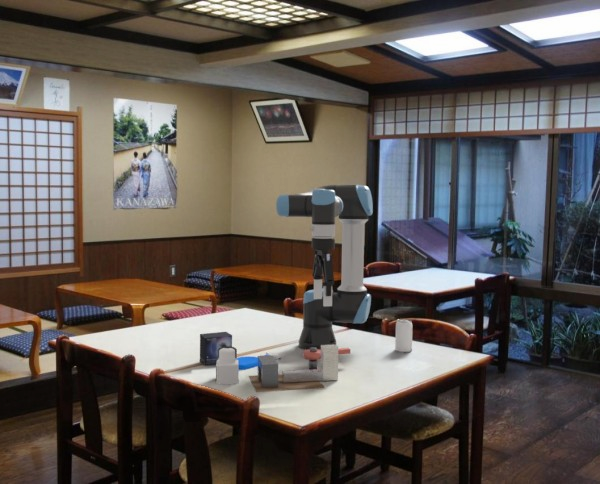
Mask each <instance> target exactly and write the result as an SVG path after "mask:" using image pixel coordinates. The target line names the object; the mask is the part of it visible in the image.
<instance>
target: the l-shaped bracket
mask: <svg viewBox="0 0 600 484" xmlns="http://www.w3.org/2000/svg"><path fill="white" fill-rule="evenodd" d="M338 349H339V346H338V345H337V343H336V344H335V345H321V359H320V368H317V369H313V370H309V369H298V370H297V369H296V370H281V374H282V381H283V382H284V383H286V382H305V381H320V382H326V381H338V380H339V355H338Z"/></svg>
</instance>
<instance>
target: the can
mask: <svg viewBox="0 0 600 484" xmlns="http://www.w3.org/2000/svg"><path fill="white" fill-rule="evenodd" d="M394 341H395V346H394V347H395V351H396V352H398V351H399V353H411V351H413V350H412V349H413V323H412V320H411V319H407V318H406V319H405V318H400V319H399V318H398V319H396V322H395V340H394Z"/></svg>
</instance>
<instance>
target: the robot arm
mask: <svg viewBox="0 0 600 484" xmlns="http://www.w3.org/2000/svg"><path fill="white" fill-rule="evenodd" d="M373 204H374V203H373V196H372V192H371V190H370V188H369V186H367V185H363V184H362V185H361V184H328V185H324V186H319V187H314V188H311V189H309V190H308V191H307V192H302V193H297V194H296V193H295V194H280V195H278V197H277V199H276V203H275V207H276V213H277V215H278V216H280V217H286V218H289V217H291V218H311V227H309V228H310V231H311V236H312V237H311V249H312V250H314V258H313V266H312V273H311V275H312V277H313V289H309V290H307V291H305V292H304V294H303V302H302V307H303V308H302V310H303V314H302V315H303V317H302V322H303V323H302V324H303V325H302V330H301V332H300V336H299V339H298V347H299V349H301V350H307V349H310V348H311V347H316V348H317V349H319V350H321V345H335V344H336V345H337V339H336V335H335V333H334V332H335V331H334V330H333V329H334V328H333V323H334V322H335V323H349V324H350V323H351V324H364V323H365V322H367V319H368V317H369V314H370V311H371V310H370V309H371V305H372V303H371V302H372V295H371V294H370V293H368V289H367V287H365V285H364V265H365V263H364V261H365V260H364V255H365V224H366V223H367V222H368V221H369V216H372V215H373V212H374V209H373V207H374V206H373ZM336 217H338V220H339V222H340V223H342V224H341V226H342V227H341V230H342V231H341V283H340V285H339V286H338V287H337V288H336V289H337V292H334V290H333V285H335V284H336V283H335V278H334V267H333V255H332V253H330V252H329V251H334V250H335V247H336V246H335V245H336V239H335V238H334V237H335V236H336Z"/></svg>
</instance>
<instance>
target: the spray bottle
mask: <svg viewBox="0 0 600 484" xmlns="http://www.w3.org/2000/svg"><path fill="white" fill-rule="evenodd" d="M271 355H273V357H274V358H275V360H277V359H279V358H280V359H282V356H281V354H278V353H274V352H269V351H268V352H265V354H262V355H259V356H271ZM237 360H238V370H239V371H240V370H241V371H246V370H250V369H252V368H253V369H254V368H258V356H248V355H247V356H239V357H238V356H237Z"/></svg>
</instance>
